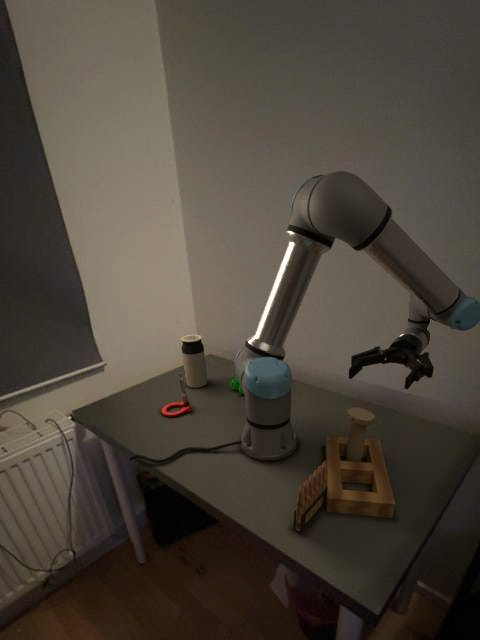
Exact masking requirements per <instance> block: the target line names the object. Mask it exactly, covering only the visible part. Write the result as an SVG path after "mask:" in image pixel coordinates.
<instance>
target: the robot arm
mask: <svg viewBox="0 0 480 640" xmlns="http://www.w3.org/2000/svg"><path fill="white" fill-rule="evenodd" d="M285 234H286V236H287V239H288V243H287V246H286V248H285V250H284V255H283V257H282V260H281V262H280V265H279V267H278V271H277V272H276V275H275V279H274V281H273V284H272V286H271V289H270V291H269V294H268V297H267V300H266V302H265V305H264V308H263V311H262V313H261V316H260V318H259V321H258V324H257V327H256V329H255V331H254V334H253V335H251V336H248V337H246V341H245V343H244V346H243V347H242V348H240V350H238V352H237V354H236V355H235V359H234V362H233V365H234V366H233V367H234V373H235V374H234V375H236V376H235V377H237V378H238V381H239V383H240V385H241V387H242V390H243V392H244V394H243V395H244V398H245V399H244V400H245V416H246V422H245V424H244V428H243V430H242V434H241V437H240V440H237V441H231V442H228V443H223V444H219V445H216V446H212V447H211V446H210V447H199V446H190V447H184V448H181V449H179V450H177V451H176V452H174V453H172V454H171V455H169V456H168V457H165V458H161V459H155V458H151V457H148V456H146V455H142V454H133V455H132V456H130V457H129V461H134V459H143V460H145V461H147V462H150V463H155V464H161V463H166V462H169V461H170V460H172V459H174V458H175V457H177V456H179V455H180V454H182V453H185V452H189V451H200V452H211V451H217V450H220V449H224V448H228V447H231V446H236V445H240V448H241V450H242V452H243V453H244V454H245V455H246V456H248V457H250V458H252V459H253V460H256V461H257V460H258V461H262V462H273V461H274V462H275V461H279V460H280V461H281V460H283V459H286V458H288V457H290V456H291V455H293V453H294V452H295V451H296V449H297V432H296V429H294V427H293V425H292V422H291V415H292V414H291V411H292V387H293V375H292V370H291V369H292V368H291V367H290V365H289V364H288V363H287V362H285V361H284V359H285V358H286V355H287V352H286V350H285V347H284V345H285V343H286V341H287V338H288V336H289V334H290V331H291V329H292V326H293V324H294V321H295V319H296V316H297V314H298V312H299V310H300V307H301V305H302V302H303V300H304V298H305V295H306V293H307V290H308V289H309V286H310V284H311V281H312V278H313V276H314V274H315V271H316V270H317V267H318V264H319V262H320V260H321V258H322V255H324V254H326V253H328V252H329V251H331V250H332V247H333V245H334V243H335V240H336V239H338V240H340V241H342V242H343V243H346V244H347V245H348V246H350V247H351V249H353V250H354V251H355V252H361V251H363V252H365V253H366V254H367V255H368V256H369V257H370V258H371V259H372V260H373V261H374V262H375V263H376V264H377V265H378V266H380V267H381V269H383V270H384V271H385V272H386V273H387V274H388V275H390V276H391V278H393V279H394V280H395V281H396V282H397V283H398V284H399V285H401V287H403V288H404V289H405V290H406V291H407V292H408V293H409V294H410V296H409V297H410V302H409V301H408V308H409V318H408V328H407V329H406V328H405V330H404V331H403V332H402V333H401V334H400V335H398V337H396V339H394V340H393V341H392V343H391V344H390V346H389V347H388V348H385V349H381V346H380V345H377V346H375V347H373V348H371V349H368V350H365V351H362V352H359V353H356V354H353V355H351V356H350V357H351V358H350V359H351V360H350V367H349V368H348V379H349V380H352V379H353V378H355V377H356V376H357V375H358V374H359V373H360V372H361V371H362V370H363V367H369V366H374V365H378V364H382V365H386V364H398V365H403V366H404V367H405V368H408V369H409V370H410V372H409V374H407V376H406V377H405V380H404V390H409V389H410V387H411V386H412V385H413V384H414V383H415V382H419V381H420V380H421V379H422V378H424V377H426V378H428V379H432V378H433V375H434V369H435V367H434V365H433V363H432V361H431V359H430V352H429V351H424V350H426V348H427V347H428V346H429V345H430V344H429V341H430V333H429V331H428V330H427V327H428V325H429V323H430V319H432V320H434V321H436V323H439V324H442V325H444V326H446V327H449V328H450V329H452V330H458V331H459V332H460V331H461V332H466V331H469V330H471V329H473V328H475V327H476V326H477V325H478V324H479V322H480V299H477V298H476V297H473V296H469V295H467V294H466V293H465V292H464V291H463V290H462V289H461V288H460V287H459V286H458V285H457V284H456V283H454V281H453V280H452V279H451V278H450V277H449V276H448V275H447V274H446V273H445V272H444V271H443V270H442V269H441V268H440V266H438V265H437V263H436V262H434V260H432V258H431V257H429V255H428V254H427V253H426V252H425V251H424V250H423V249H422V248H421V247H420V246H419V245H418V244H417V243H416V242H415V241H414V240H413V239H412V237H410V236H409V235H408V234H407V232H405V230H404V229H403V228H402V227H401V226H400V225H399V224H398V223H397V222H396V221H395V220H394V219H393V209H392V207H390V205H389V204H387V202H385V200H383V198H382V197H381V196H380V195H379V194H378V193H377V192H376V191H375V190H374V189H373V188H372V187H371V186H370V185H369V184H368V183H366V182H365V181H364V180H363V179H362V178H361V177H359V176H358V175H356V174H354V173H352V172H350V171H345V170H339V171H333V172H331V173H327V174H318V175H313V176H312V177H310V178H308V179H307V180H306V181H305V182H303V183H302V184H301V185H300V186H299V187H298V188H297V189H296V191H295V192H294V195H293V196H292V200H291V204H290V220H289V223H288V226H287V228H286V231H285ZM423 351H424V352H423ZM422 352H423V353H422Z"/></svg>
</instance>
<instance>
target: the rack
mask: <svg viewBox="0 0 480 640" xmlns="http://www.w3.org/2000/svg"><path fill="white" fill-rule="evenodd" d="M325 437H326V438H325V448H324V452H325V455H324V456H325V461H326V464H327V485H326V486H327V487H328V489H327V500H326V513H327V512H328V513H337V514H346V515H358V516H365V517H376V518H385V519H393V517H394V512H395V508H396V501H395V496H394V493H393V487H392V485H391V481H390V477H389V472H388V468H387V464H386V460H385V457H384V454H383V453H384V452H383V450H382V449H383V448H382V445H381V441H380V439H377V438H365V444H364V452H363V456H362V459H365V460H366V462H363V461H361V462H352V461H346V460H341V457H346V450H347V444H348V439H349V437H346V436H331V435H330V436H329V435H326V436H325ZM343 483H352V484H364V485H370V486H371V491H362V490H351V489H343Z"/></svg>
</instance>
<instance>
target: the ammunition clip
mask: <svg viewBox="0 0 480 640" xmlns="http://www.w3.org/2000/svg"><path fill="white" fill-rule="evenodd" d="M326 485H327V464H326V460H324V461H322V464H320V465H319V466H318V469H315V470H314V471H313V474H312V473H311V474H310V475H309V477H308V478H307V479H305V480H304V483H303V484H300V486H299V488H298V494H297V499H296V508H295V510H294V513H293V526H292V527H293V529H292V530H293V531H295V532H296V533H298V534H300V535H302V534H303V533H304V531H305V530H306V529H307V528H308V526H310V524H311V523H312V522H313V520H314V519H315V518H316V517H317V516H318V514H319V513H320V512H321V511H322V510H323V508H324V507H325V506H327V501H326V500H327V489H328V487H327V486H326Z"/></svg>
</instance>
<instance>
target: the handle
mask: <svg viewBox="0 0 480 640" xmlns="http://www.w3.org/2000/svg"><path fill="white" fill-rule="evenodd" d="M345 417H346V418H347V420H349V421H350V423H351V425H350V431H349V435H348V438H349V439H348V444H347V450H346V456H345V458H346V459H345V461H352V462H362V459H363V458H362V456H363V452H364V444H365V439H366V432H367V426H370V425H372V424H374V423H375V420H376V415H375V414H374V413H373V412H372V411H370V410H369V409H368V410H367V409H365V408H362V407H357V406H355V407H354V406H353V407H350V408H348V409H347V410H346V413H345Z"/></svg>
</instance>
